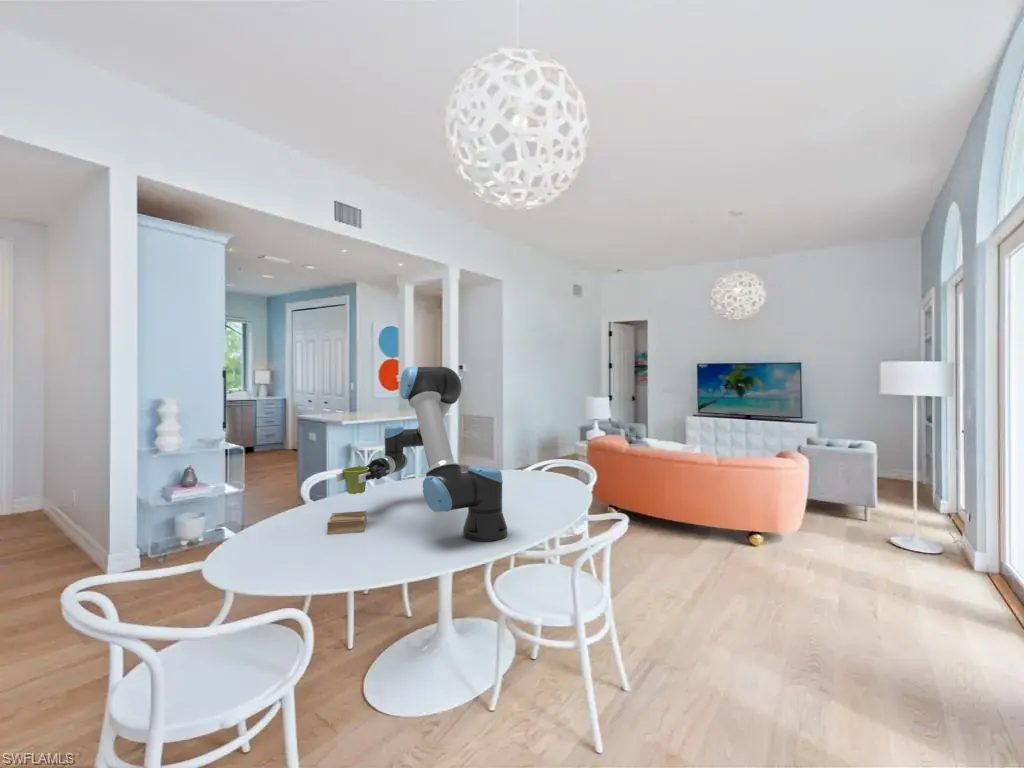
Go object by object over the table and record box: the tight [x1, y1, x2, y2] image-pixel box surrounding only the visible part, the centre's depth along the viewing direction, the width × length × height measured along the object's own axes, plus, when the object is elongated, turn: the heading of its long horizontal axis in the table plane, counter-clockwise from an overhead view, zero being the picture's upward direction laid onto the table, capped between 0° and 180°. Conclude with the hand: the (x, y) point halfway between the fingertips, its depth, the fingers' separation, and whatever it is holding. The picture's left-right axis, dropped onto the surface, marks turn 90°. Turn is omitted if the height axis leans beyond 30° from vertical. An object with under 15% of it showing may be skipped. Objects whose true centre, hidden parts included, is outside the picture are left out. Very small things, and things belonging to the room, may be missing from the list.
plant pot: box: [341, 466, 369, 495], centre depth 184 cm, size 9×9×9 cm
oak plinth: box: [326, 510, 367, 535], centre depth 180 cm, size 12×12×4 cm
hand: (348, 478), depth 179 cm, fingers closed on plant pot, 8 cm apart
